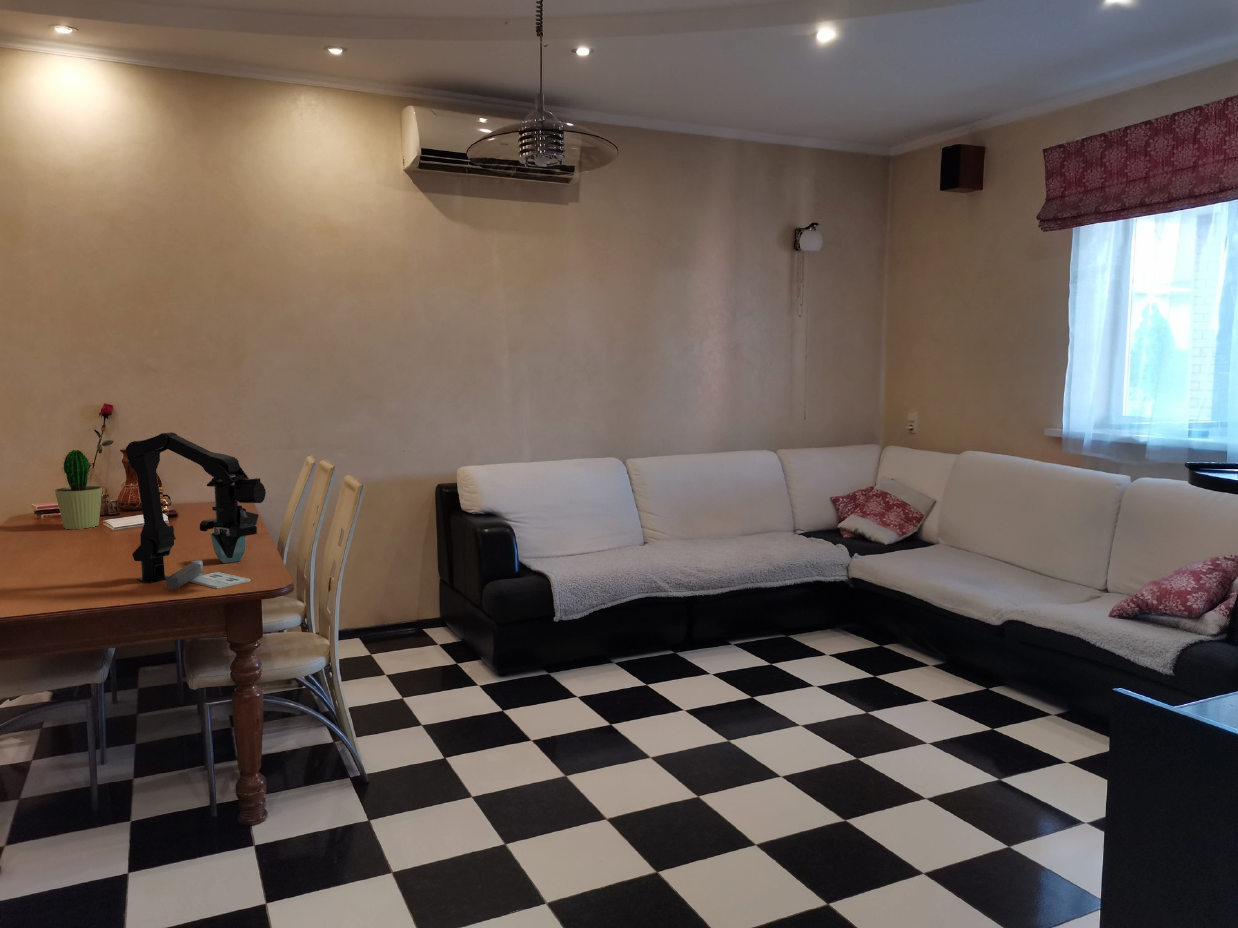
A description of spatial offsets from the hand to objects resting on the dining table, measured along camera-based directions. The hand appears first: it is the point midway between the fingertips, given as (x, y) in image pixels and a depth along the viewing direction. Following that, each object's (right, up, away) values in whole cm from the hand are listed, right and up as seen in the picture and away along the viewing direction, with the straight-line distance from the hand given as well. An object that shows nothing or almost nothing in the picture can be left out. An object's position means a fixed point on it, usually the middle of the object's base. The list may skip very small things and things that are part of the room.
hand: (229, 557), depth 246 cm
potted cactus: (-95, +2, +89) cm, 131 cm away
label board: (-6, -7, +4) cm, 10 cm away
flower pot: (-12, -4, +28) cm, 31 cm away
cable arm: (-12, -6, 0) cm, 13 cm away
